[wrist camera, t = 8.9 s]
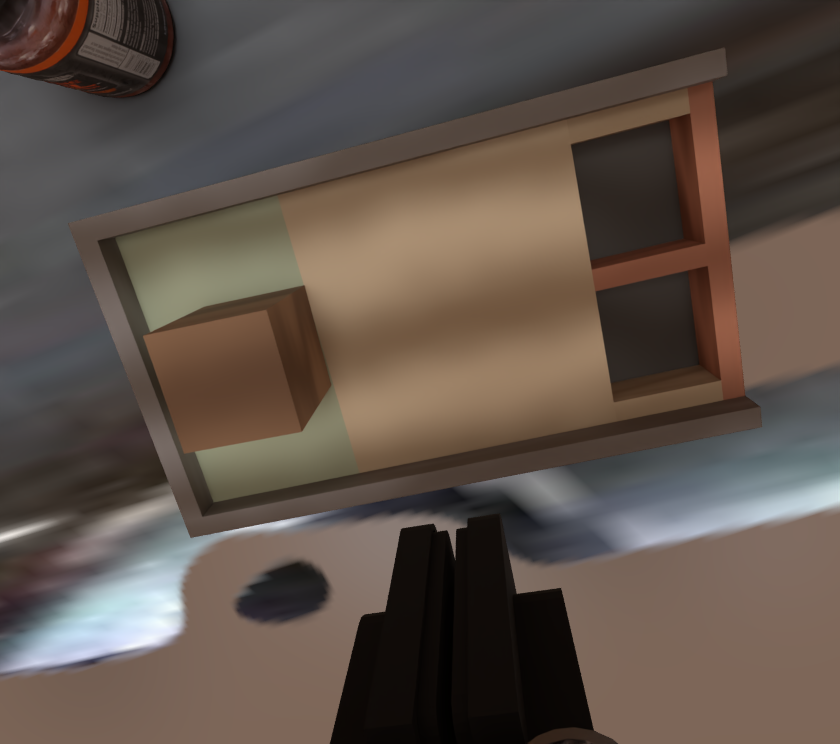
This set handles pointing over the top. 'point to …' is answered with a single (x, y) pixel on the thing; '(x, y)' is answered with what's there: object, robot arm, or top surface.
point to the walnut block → (241, 369)
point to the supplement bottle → (87, 43)
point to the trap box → (456, 297)
